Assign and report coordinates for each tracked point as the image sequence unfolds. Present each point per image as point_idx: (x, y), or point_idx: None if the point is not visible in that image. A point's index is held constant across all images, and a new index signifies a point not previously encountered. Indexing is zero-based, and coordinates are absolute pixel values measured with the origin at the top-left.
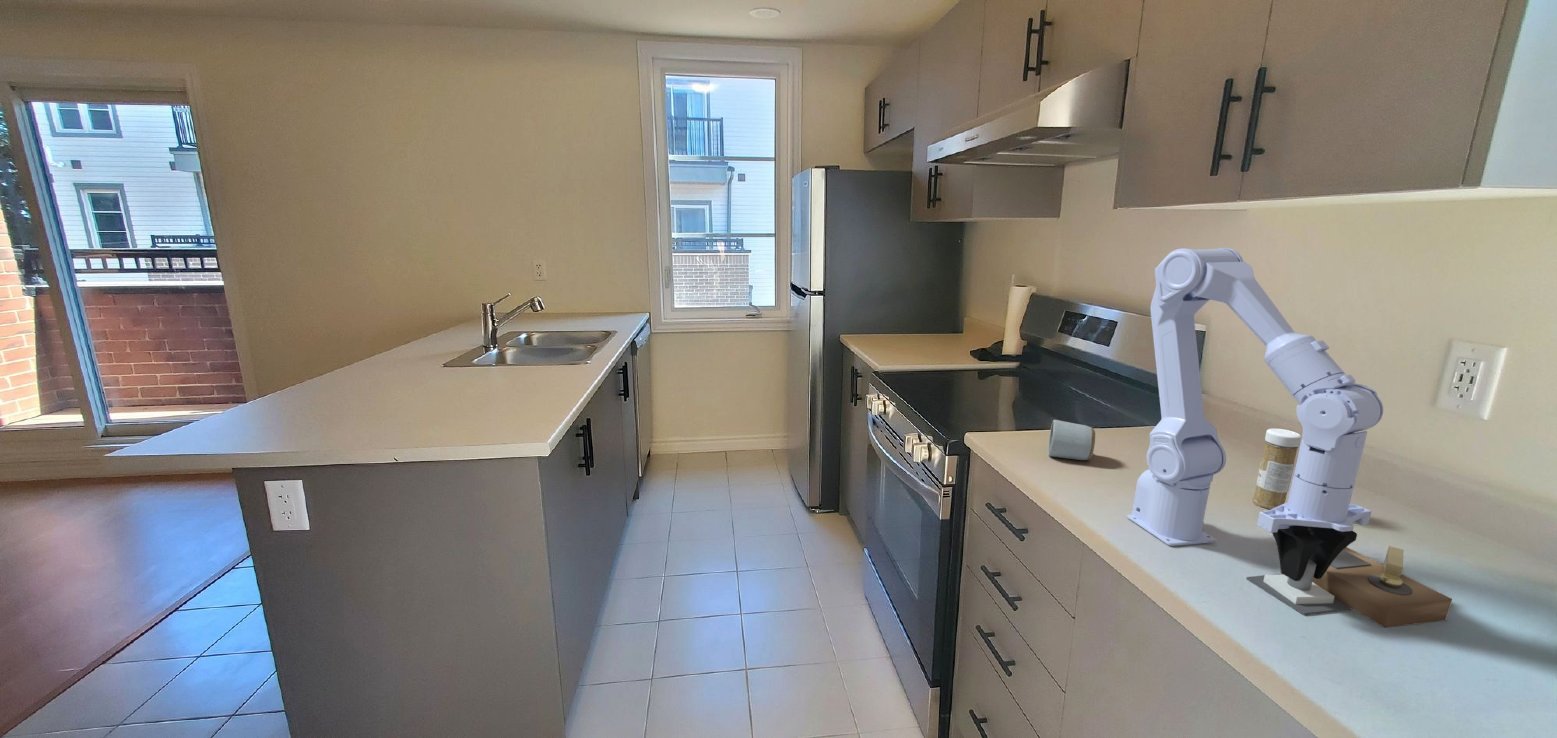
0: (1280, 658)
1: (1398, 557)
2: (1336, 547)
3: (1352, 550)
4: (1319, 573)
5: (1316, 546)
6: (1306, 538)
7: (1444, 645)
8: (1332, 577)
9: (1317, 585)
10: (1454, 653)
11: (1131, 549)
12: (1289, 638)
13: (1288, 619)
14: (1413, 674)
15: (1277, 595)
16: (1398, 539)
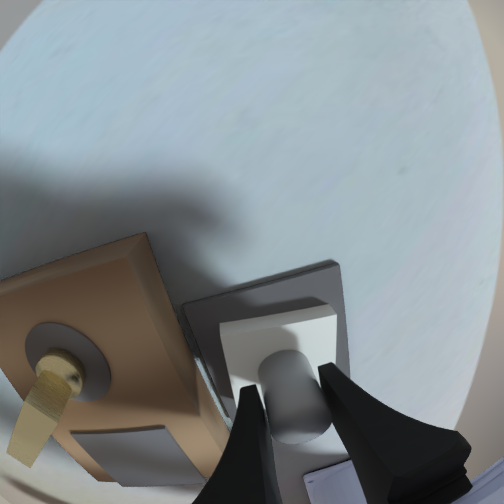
0: (477, 106)
1: (22, 436)
2: (259, 479)
3: (85, 468)
4: (256, 396)
5: (385, 454)
6: (455, 459)
7: (52, 172)
8: (193, 397)
9: (229, 377)
10: (54, 140)
11: (454, 409)
12: (433, 164)
13: (385, 239)
14: (240, 31)
15: (342, 333)
16: (5, 464)
